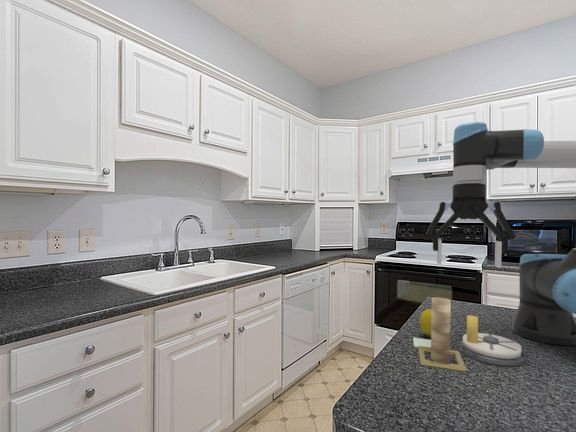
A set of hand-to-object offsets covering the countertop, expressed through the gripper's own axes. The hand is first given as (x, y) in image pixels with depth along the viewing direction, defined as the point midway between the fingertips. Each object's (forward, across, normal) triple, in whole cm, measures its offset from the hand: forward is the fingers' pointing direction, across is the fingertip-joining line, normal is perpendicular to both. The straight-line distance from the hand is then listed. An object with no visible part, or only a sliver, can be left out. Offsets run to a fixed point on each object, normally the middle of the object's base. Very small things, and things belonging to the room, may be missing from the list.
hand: (467, 265), depth 83 cm
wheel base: (+21, -4, +4) cm, 22 cm away
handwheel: (+19, -4, +4) cm, 20 cm away
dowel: (+21, +7, +12) cm, 25 cm away
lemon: (+21, +8, -2) cm, 23 cm away
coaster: (+21, +10, +4) cm, 23 cm away
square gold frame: (+21, +7, +12) cm, 25 cm away
